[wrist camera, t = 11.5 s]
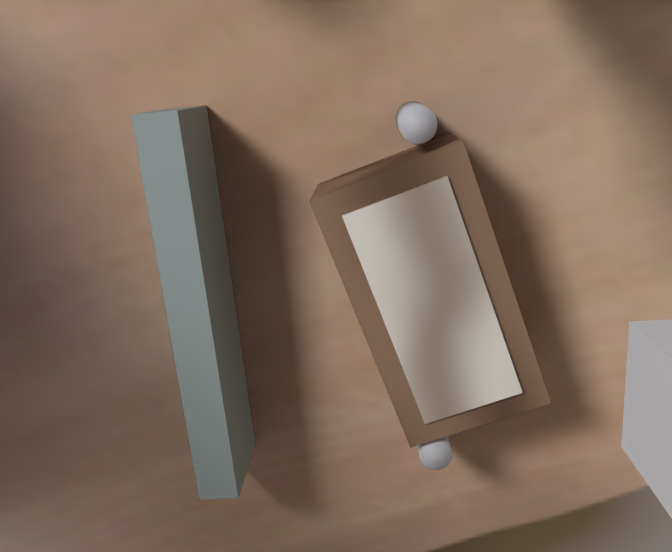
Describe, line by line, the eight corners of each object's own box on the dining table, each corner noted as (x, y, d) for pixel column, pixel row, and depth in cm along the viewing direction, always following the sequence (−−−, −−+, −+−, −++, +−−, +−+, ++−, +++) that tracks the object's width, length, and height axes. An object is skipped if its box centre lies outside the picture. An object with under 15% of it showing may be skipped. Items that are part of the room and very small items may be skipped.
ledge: (221, 446, 37) (199, 499, 33) (167, 109, 32) (130, 114, 27) (443, 434, 36) (454, 488, 32) (427, 84, 31) (437, 86, 26)
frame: (405, 398, 36) (410, 450, 31) (318, 183, 33) (308, 202, 28) (526, 359, 35) (552, 405, 30) (449, 131, 32) (464, 142, 27)
